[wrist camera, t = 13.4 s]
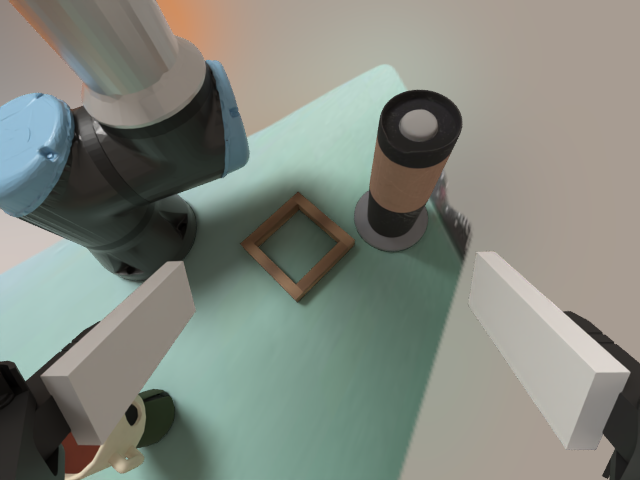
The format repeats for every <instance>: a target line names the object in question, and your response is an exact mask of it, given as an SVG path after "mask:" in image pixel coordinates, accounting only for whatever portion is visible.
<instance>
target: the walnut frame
mask: <svg viewBox="0 0 640 480" xmlns="http://www.w3.org/2000/svg"><path fill="white" fill-rule="evenodd" d="M299 210H300V211H302V212H303V213H304V214H305V215H306V216H307V217H308V218H310V219H311V220H312V221H313V222H314V223H315V224H316V225H318V226H319V227H320V228H321V229H322V230H323V231H324V232H326V233H327V234H328V235H329V236H330V237H331V238H333V239H334V240H335V241H336V242H337V244H336V245H335V246H334V247H333V248H332V249H331V250H330V251H329V252H328V253H327V254H326V255H325V256H324V257H323V258H322V259H321V260H320V261H319V262H318V263H317V264H316V265H315V266H314V267H313V268H312V269H311V270H310V271H309V272H308V273H307V274H306V275H305V276H304V277H303V278H302V279H301V280H300V281H299V282H298V283H297V284H295V283H294V282H293V281H292V280H291V279H290V278H289V277H288V276H287V275H286V274H285V273H284V272H283V271H282V270H281V269H280V268H279V267H277V266H276V265H275V264H274V263H273V262H272V261H271V260H270V259H269V258H268V257H267V256H266V255H265V254H264V253H263V252H262V251H261V250H260V249H259V248H258V247H259V246H260V245H262V244H263V243H264V242H265V241H266V240H267V239H268V238H269V237H270V236H271V235H272V234H274V233H275V232H276V231H277V230H278V229H279V228H280V227H281V226H282V225H283V224H284V223H285V222H287V221H288V220H289V219H290V218H291V217H292V216H293V215H294V214H295V213H296V212H297V211H299ZM240 244H241V246H242V247H243V248H244V249H245V250H246V251H247V252H248V253H249V254H250V255H251V256H252V257H253V258H254V259H255V260H256V261H257V262H258V263H259V264H260V265H261V266H262V267H263V268H264V269H265V270H266V271H267V272H268V273H269V274H270V275H271V276H272V277H273V278H274V279H275V280H276V281H277V282H278V283H279V284H280V285H281V286H282V287H283V288H284V289H285V290H286V291H287V292H288V293H289V294H290V296H291V297H292V298H293V299H294V300H295V301H296V302H297V303H298V302H299V301H300V300H301V299H302V298H303V297H304V296H305V294H306V293H307V292H308V291H309V290H310V289H311V288H312V287H313V286H314V285H315V284H316V283H317V282H318V281H319V280H320V279H321V278H322V277H323V276H324V275H325V274H326V273H327V272H328V271H329V270H330V269H331V268H332V267H333V266H334V265H335V264H336V263H337V262H338V261H339V260H340V259H341V258H342V257H343V256H344V255H345V254H346V253H347V252H348V251H349V250H350V249H351V248H352V247H353V246H354V245H355V240H354V239H353V238H352V237H351V236H350V235H348V234H347V233H346V232H345V231H344V230H343V229H341V228H340V227H339V226H338V225H337V224H336V223H334V222H333V221H332V220H331V219H330V218H328V217H327V216H326V215H325V214H324V213H323V212H321V211H320V210H319V209H318V208H317V207H315V206H314V205H313V204H312V203H311V202H310V201H308V200H307V199H306V198H305V197H304V196H302V195H301V194H300V193H299V192H297V193H296V194H295V195H294V196H293V197H292V198H290V199H289V200H288V201H287V202H286V203H285V204H284V205H283V206H282V207H280V208H279V209H278V210H277V211H276V212H275V213H274V214H273V215H272V216H270V217H269V218H268V219H267V220H266V221H265V222H264V223H263V224H262V225H260V226H259V227H258V228H257V229H256V230H255V231H254V232H253V233H252V234H250V235H249V236H248V237H247V238H246V239H245V240H244V241H243V242H242V243H240Z"/></svg>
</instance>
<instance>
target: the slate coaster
mask: <svg viewBox="0 0 640 480" xmlns="http://www.w3.org/2000/svg"><path fill="white" fill-rule="evenodd" d="M368 198H369V191H367V192H366V193H365V194H364V195H363V196H362V197H361V198H360V200H359V201H358V203H357V205H356V208H355V213H354V222H355V226H356V229H357V231H358V233H359V235H360V236H361V238H362V239H363V240H364V241H365V242H366V243H368V244H369V245H371V246H372V247H374V248H377V249H379V250H383V251H389V252H395V251H401V250H405V249H408V248H410V247H411V246H413V245H414V244H416V243H417V242H418V241H419V240H420V239H421V237H422V236H423V234H424V232H425V230H426V228H427V223H428V214H427V210H426V207H425V206H424V208H423V210H422V211H421V213H420V215H419V217H418V218H417V220H416V222H415V224H414V225H413V227H412V228H411V229H410V231H409V232H407V233H406V234H404V235H402V236H400V237H395V238H389V237H384V236H382V235H379V234H378V233H376V232H375V231H374V230H373V229H372V228H371V226H370V224H369V222H368V217H367V212H368Z"/></svg>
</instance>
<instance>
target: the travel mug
mask: <svg viewBox="0 0 640 480" xmlns="http://www.w3.org/2000/svg"><path fill="white" fill-rule="evenodd" d="M461 129H462V116H461V113H460V111H459V109H458V108H457V106H456V105H455V104H454V103H453V102H452V101H451V100H450V99H448V98H447V97H445V96H443V95H441V94H439V93H436V92H433V91H428V90H412V91H406V92H403V93H400V94H398V95H396V96H395V97H393V98H392V99H390V100H389V101H388V102H387V104H386V105H385V106H384V108H383V110H382V112H381V115H380V120H379V127H378V133H377V139H376V146H375V152H374V159H373V165H372V172H371V178H370V186H369V198H368V212H367V217H368V222H369V224H370V226H371V228H372V229H373V230H374V231H375V232H376V233H378V234H379V235H382V236H384V237H389V238H395V237H400V236H402V235H404V234H406V233H407V232H409V231H410V229H411V228H412V227H413V225H414V224H415V222H416V220H417V218H418V217H419V215H420V213H421V211H422V210H423V208H424V206H425V205H426V203H427V201H428V199H429V197H430V195H431V193H432V191H433V189H434V187H435V185H436V183H437V181H438V179H439V177H440V175H441V172H442V170H443V168H444V166H445V164H446V162H447V160H448V158H449V156H450V154H451V152H452V150H453V148H454V146H455V144H456V141H457V139H458V137H459V135H460V133H461Z"/></svg>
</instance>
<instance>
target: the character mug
mask: <svg viewBox="0 0 640 480" xmlns="http://www.w3.org/2000/svg"><path fill="white" fill-rule="evenodd" d="M162 392H164V391H163V390H158V389H152V390H148V391H145V392H142V393H139V394H138V395H137V396H136V398H135V399H134V401H133V402H132V404H131V405H130V406H129V408H128V409H127V411H126V412H125V414H124V415H123V416H122V418H121V419H120V421H119V422H118V424H117V425H116V427H115V428H114V429H113V431H112V432H111V434H110V435H109V437H108V438H107V440H106V441H105V442H104V444H103V445H78V444H77V442H76V440H75V438H74V437H73V435H72V433H71V432H70V433H69V434H68V435H67V437H66V438H65V439H64V440H63V441H62V443H61V444H62V445H63V447H64V450H65V480H80V479H83V478H85V477H87V476H89V475H92V474H94V473H96V472H99V471H101V470H103V469H106V468H108V467H110V466H112V467H113V468H114V469H115V470H116V471H117V472H119V473H126V472H128V471H130V470H132V469H134V468H136V467H138V466H139V465H141V464H142V463H143V462H144V456H143V454H142V453H141V452H140V451H139V450H138V449H137V448H141V447H145V446H148V445H151V444H154V443H157V442H158V441H159V440H160V439H161V438H162V437H163V436H164V435H165V434H166V433H167V432H168V430H169V428H170V427H171V425H172V423H173V421H174V412H175V406H174V403H173V401H172V398H171V397H170V396H167V397H163V398H162V396H159V395H156V394H159V393H162ZM126 457H127V458H128V460H126V459H125V458H126Z"/></svg>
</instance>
